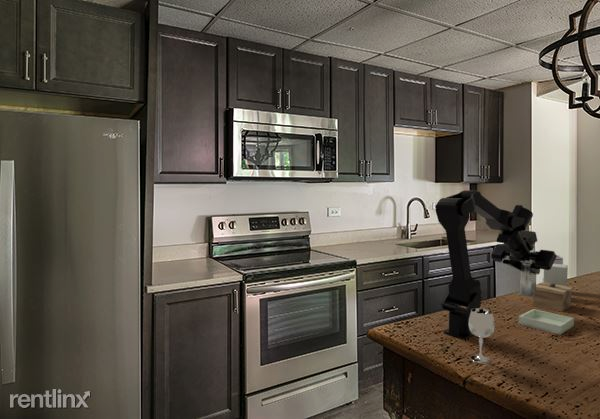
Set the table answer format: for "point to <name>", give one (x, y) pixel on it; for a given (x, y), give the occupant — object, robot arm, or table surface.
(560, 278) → the supplement box
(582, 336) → the table surface
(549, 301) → the lidded bin
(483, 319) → the wineglass
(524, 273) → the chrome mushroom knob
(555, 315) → the tray
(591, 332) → the table surface
